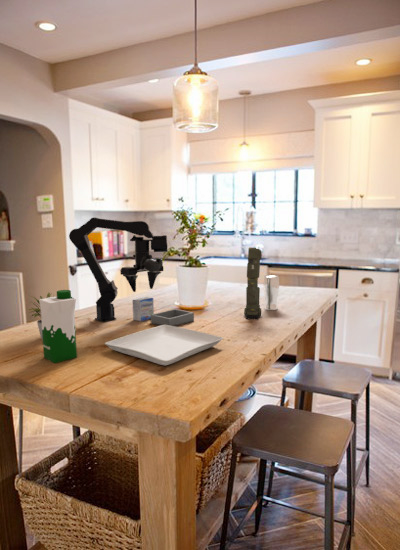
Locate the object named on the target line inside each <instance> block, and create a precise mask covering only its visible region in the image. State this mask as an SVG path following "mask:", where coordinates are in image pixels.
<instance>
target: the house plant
mask: <svg viewBox="0 0 400 550" xmlns="http://www.w3.org/2000/svg"><path fill="white" fill-rule="evenodd" d="M52 294H53V293H51V292H47V295H46V298H48V297H51V295H52ZM30 297H31V298H33V299H34V300H35V301H36V302H37V303H36V302H35V301H30V303H32V305H34V306H35V307H36V308H34V307H31V308H28V310H29V313H30V314H31V313H33V314H32V315H31V317H33V319H34V318H36V317H37V316H38V317H41V309H40V308H39V307H40V302H39V299H44V297H43V296H41V295H40V296H39V299H37V298H36V297H35V296H33V295H31V296H30ZM52 297H57V295H56V296H55V294H53V295H52ZM36 323H37V327H38V331H39V336H40V339H41V340H42V341H43V337H42V321H41V319H39V320H38V319H37V321H36Z"/></svg>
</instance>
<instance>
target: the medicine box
mask: <svg viewBox="0 0 400 550" xmlns="http://www.w3.org/2000/svg"><path fill="white" fill-rule="evenodd" d="M154 307H155V306H154V297H152V296H145V297H140V298H135V299H132V319H133V321H136V322H144V321H147V320H151V315H152V314H155V311H154V310H155V308H154Z"/></svg>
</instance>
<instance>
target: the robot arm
mask: <svg viewBox="0 0 400 550" xmlns="http://www.w3.org/2000/svg"><path fill="white" fill-rule="evenodd" d="M97 228H98V229H99V228H100V229H107V230H116V231H124V232H128V233H131V234H134V235H133V236H132V237H131V238H130V239H129V241H130V242H134V254H132V257H133V258H134V259H135V260H134V261H135V263H134V264H133V265H132V266H124V267H121V269H120V272H119V273H120V276H121V275H122V277H125V279H126V281H127V282H128V284H129V286H130V288H131V290H132V292H134V293H136V289H137V278H138V276H139V275H137V274H138V273H142V272H147V279H148V280H147V281H148V285H149V289H150V290H152V289H154V286H155V282H156V279H157V277H158V276H159V275H160V274H161V273H162V272H164V266H163V263H164V262H163V259H162V258H156V259H153V256H152V254H150V251H153V253H167V252H168V235H166V234H165V235H154V233H152V231H151V230H150V226H149V224H148V222H146V221H145V220H136V221H135V220H134V221H123V220H114V219H106V218H99V217H91V218H90V219H89V220H88V221H86V222H85V223H84V224H82V225H81V226H80V227H78V228H73V229H72V230H71V231H70V232H69V235H68V238H69V241H71V243H72V244H73V246H75V248H76V249H77V250H78V251H79V252H80V253H81V255H82V257H83V258H84V261H85V262H86V264H87V266H88V267H89V268H88V269H89V270H90V272H91V273H92V276H93V277H94V279H95V281H96V283H97V286H98V291H99V294H100V295H99V296H100V297H99V298H98V299H97V300H96V301H95V304H96V305H95V306H96V317H94V320H95V321H99V322H102V323H106V322H110V321H114V320H117V317H115V315H116V314H115V306H114V303H113V302H114V301H115V299H116V298H117V296H118V287H117V286H116V284H115V281H114V280H111V281H110V280H109V279H108V277H107V276H106V274H105V272H104V271H103V269H102V266H101V265H100V262H99V261H98V259H97V257H96V255H95V254H94V251H93V249H92V247H91V243H90V239H89V237H88V236H89V235H90V234H91V233H92V232H93V231H95V230H96V229H97ZM136 235H138V236H136ZM144 237H145V239H144ZM146 238H147V239H146Z"/></svg>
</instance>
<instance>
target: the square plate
mask: <svg viewBox="0 0 400 550" xmlns="http://www.w3.org/2000/svg"><path fill="white" fill-rule="evenodd" d="M222 340H224V337H222V336H218V335H214V334H211V333H206V332H204V331H203V332H202V331H198V330H195V329H194V330H193V329H190V328H184V327H180V326H169V325H161V326H159V325H156V326H155V327H151V328H146V329H144V330H143V329H142V330H140V331H137V332H133V333H130V334H127V335H124V336H121V337H118V338H115V339H112V340H108V341H106V342H104V345H105V346H107V347H108V348H109V349H111V350H113V351H115V352H118V353H121V354H125V355H128V356H132V357H136V358H139V359H142V360H145V361H148V362H151V363H154V364H157V365H160V366H169V365H172V364H174V363H176V362H179V361H181V360H183V359H185V358H188V357H191V356H193V355H195V354H198V353H201V352H202V351H205V350H209V349H210V348H212V347H215V346H216V345H218V344H219V343H220V342H221V341H222Z"/></svg>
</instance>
